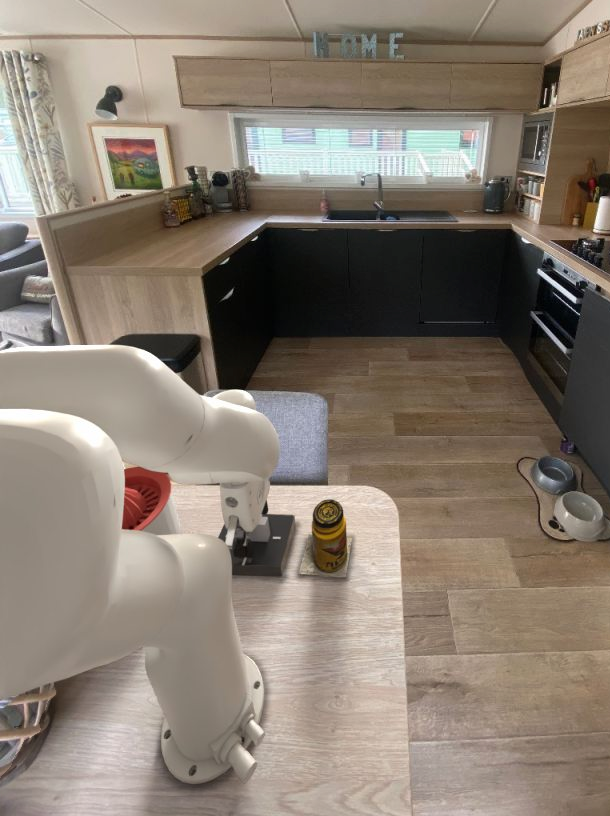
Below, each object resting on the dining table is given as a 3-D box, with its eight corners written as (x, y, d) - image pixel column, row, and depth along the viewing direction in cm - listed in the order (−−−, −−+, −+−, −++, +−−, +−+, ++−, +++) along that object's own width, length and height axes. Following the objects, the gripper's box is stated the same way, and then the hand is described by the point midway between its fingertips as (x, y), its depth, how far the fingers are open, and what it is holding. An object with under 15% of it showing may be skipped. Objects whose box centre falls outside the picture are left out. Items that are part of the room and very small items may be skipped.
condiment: (346, 577, 68) (344, 530, 63) (298, 574, 69) (293, 527, 64) (352, 538, 75) (350, 493, 70) (308, 535, 75) (304, 490, 71)
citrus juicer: (54, 605, 64) (9, 520, 56) (152, 519, 78) (127, 441, 70) (115, 655, 58) (74, 567, 50) (208, 551, 72) (188, 471, 64)
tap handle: (270, 533, 72) (267, 515, 71) (267, 542, 71) (265, 523, 69) (238, 532, 73) (235, 514, 71) (235, 540, 71) (231, 522, 69)
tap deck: (295, 524, 77) (294, 513, 76) (282, 577, 68) (280, 566, 67) (231, 522, 78) (229, 511, 77) (208, 575, 68) (205, 563, 67)
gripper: (242, 507, 56) (257, 583, 63) (276, 425, 72) (285, 493, 79) (191, 505, 57) (211, 582, 63) (236, 424, 73) (248, 492, 79)
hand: (252, 532), depth 71 cm, fingers open, 7 cm apart
